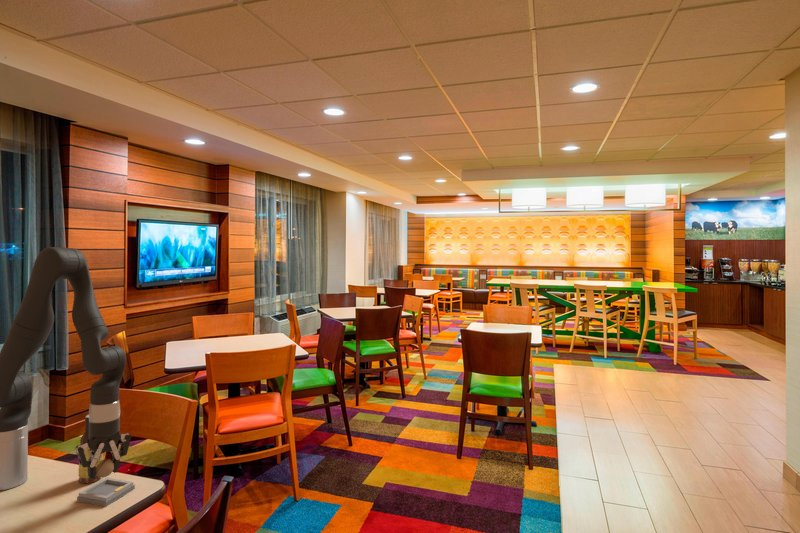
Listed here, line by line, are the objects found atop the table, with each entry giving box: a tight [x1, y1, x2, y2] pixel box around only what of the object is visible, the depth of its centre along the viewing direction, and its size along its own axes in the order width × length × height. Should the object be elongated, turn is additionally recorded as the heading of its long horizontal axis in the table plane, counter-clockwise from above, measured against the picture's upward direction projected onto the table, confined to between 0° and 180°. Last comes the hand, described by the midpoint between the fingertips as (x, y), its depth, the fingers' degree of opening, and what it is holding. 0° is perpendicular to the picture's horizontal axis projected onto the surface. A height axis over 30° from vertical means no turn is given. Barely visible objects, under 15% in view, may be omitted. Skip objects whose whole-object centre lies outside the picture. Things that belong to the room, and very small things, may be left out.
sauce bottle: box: [78, 414, 104, 484], centre depth 142 cm, size 7×6×20 cm
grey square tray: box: [76, 477, 136, 507], centre depth 134 cm, size 10×10×2 cm
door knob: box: [96, 458, 114, 479], centre depth 133 cm, size 5×5×5 cm
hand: (103, 474), depth 133 cm, fingers closed on door knob, 5 cm apart
